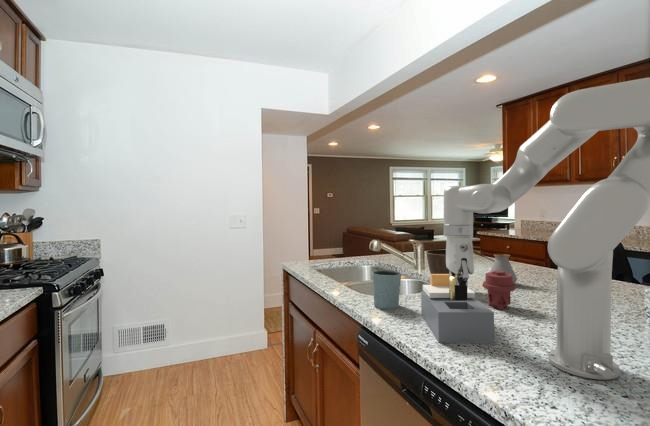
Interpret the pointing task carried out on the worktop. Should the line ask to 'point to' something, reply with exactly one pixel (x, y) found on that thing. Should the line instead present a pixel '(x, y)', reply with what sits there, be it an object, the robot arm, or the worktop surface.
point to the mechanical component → (499, 288)
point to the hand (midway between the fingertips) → (457, 296)
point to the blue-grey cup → (386, 289)
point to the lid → (441, 287)
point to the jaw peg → (452, 287)
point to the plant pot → (437, 261)
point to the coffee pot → (500, 264)
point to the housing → (458, 320)
